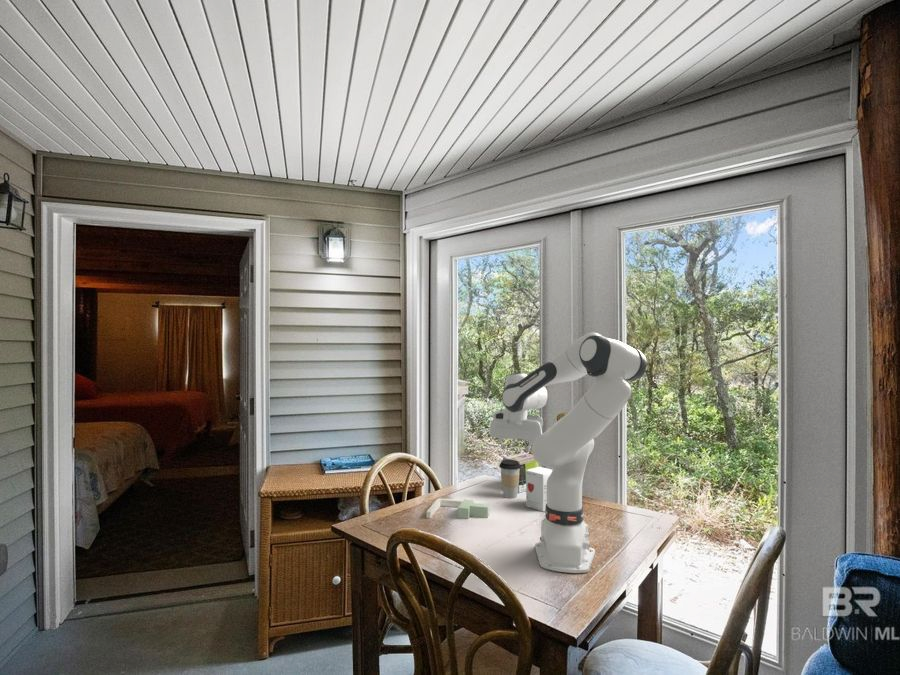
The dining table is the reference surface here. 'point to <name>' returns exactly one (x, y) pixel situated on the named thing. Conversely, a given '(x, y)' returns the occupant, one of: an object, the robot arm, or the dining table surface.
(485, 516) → the t block
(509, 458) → the tea box
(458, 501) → the fence
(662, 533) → the dining table surface
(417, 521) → the dining table surface
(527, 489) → the supplement box
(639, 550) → the dining table surface
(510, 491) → the coffee cup
